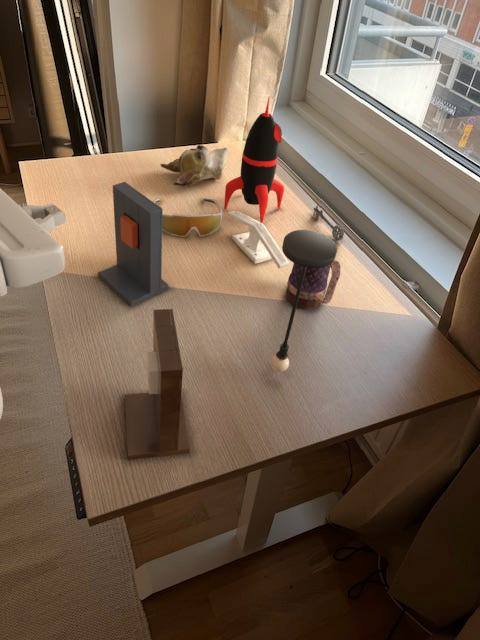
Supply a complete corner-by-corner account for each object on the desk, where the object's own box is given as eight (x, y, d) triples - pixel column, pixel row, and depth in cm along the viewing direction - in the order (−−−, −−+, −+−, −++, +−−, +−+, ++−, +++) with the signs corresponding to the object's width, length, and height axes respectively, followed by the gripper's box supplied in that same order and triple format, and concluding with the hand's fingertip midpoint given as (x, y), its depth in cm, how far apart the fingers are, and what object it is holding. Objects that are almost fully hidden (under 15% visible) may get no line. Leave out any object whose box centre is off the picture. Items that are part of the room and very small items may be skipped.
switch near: (149, 394, 64) (149, 371, 61) (147, 375, 66) (147, 351, 63) (158, 393, 64) (159, 370, 61) (156, 374, 67) (157, 350, 64)
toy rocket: (261, 226, 111) (280, 110, 94) (221, 209, 114) (233, 93, 98) (282, 208, 118) (304, 96, 101) (244, 192, 121) (259, 81, 104)
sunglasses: (158, 240, 103) (158, 216, 100) (149, 209, 115) (149, 188, 112) (227, 237, 106) (229, 215, 104) (212, 208, 118) (213, 187, 115)
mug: (278, 288, 96) (289, 234, 88) (310, 282, 99) (325, 229, 91) (304, 325, 90) (319, 270, 82) (338, 317, 92) (356, 263, 84)
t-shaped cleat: (269, 279, 98) (274, 256, 94) (219, 224, 110) (221, 202, 106) (287, 275, 100) (292, 252, 96) (235, 221, 112) (238, 199, 108)
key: (342, 244, 110) (346, 231, 108) (338, 244, 110) (342, 231, 107) (314, 214, 118) (317, 201, 115) (310, 215, 117) (314, 202, 115)
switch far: (132, 248, 85) (131, 226, 83) (121, 239, 87) (119, 217, 84) (138, 246, 86) (137, 224, 83) (126, 237, 88) (126, 215, 85)
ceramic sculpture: (237, 151, 116) (173, 161, 111) (235, 186, 122) (174, 196, 117) (218, 131, 123) (158, 140, 118) (217, 165, 129) (160, 174, 124)
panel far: (131, 306, 88) (128, 221, 77) (98, 276, 93) (90, 192, 81) (168, 288, 93) (170, 205, 81) (135, 261, 97) (132, 178, 86)
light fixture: (247, 381, 79) (273, 246, 62) (268, 355, 84) (297, 223, 67) (286, 401, 77) (324, 268, 60) (304, 374, 82) (345, 243, 65)
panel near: (128, 460, 67) (123, 373, 55) (124, 398, 74) (119, 311, 62) (189, 453, 69) (197, 368, 57) (180, 394, 76) (185, 308, 64)
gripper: (-67, 227, 72) (27, 199, 80) (1, 306, 62) (101, 266, 70) (-81, 186, 68) (20, 161, 76) (-10, 264, 58) (98, 227, 66)
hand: (60, 212), depth 73 cm, fingers closed
